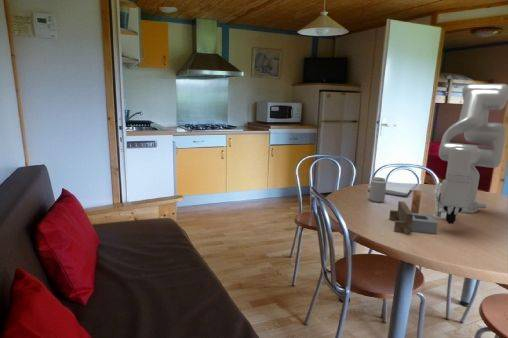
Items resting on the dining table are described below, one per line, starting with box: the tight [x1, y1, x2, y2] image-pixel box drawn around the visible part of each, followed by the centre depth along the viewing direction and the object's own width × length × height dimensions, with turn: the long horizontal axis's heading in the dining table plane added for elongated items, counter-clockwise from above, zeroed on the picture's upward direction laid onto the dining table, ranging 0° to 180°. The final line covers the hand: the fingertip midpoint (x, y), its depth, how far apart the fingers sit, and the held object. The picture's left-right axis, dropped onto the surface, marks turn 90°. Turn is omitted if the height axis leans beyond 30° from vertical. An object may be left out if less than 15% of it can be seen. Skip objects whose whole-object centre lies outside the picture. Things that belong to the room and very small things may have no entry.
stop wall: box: [388, 200, 413, 235], centre depth 142 cm, size 6×18×8 cm, turn 166°
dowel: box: [410, 189, 422, 214], centre depth 153 cm, size 3×3×12 cm
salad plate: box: [367, 181, 414, 197], centre depth 199 cm, size 21×21×3 cm
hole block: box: [411, 213, 438, 235], centre depth 140 cm, size 10×10×4 cm
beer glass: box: [432, 182, 447, 220], centre depth 154 cm, size 7×7×15 cm
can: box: [368, 176, 387, 203], centre depth 177 cm, size 8×8×12 cm
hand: (449, 222), depth 138 cm, fingers closed
